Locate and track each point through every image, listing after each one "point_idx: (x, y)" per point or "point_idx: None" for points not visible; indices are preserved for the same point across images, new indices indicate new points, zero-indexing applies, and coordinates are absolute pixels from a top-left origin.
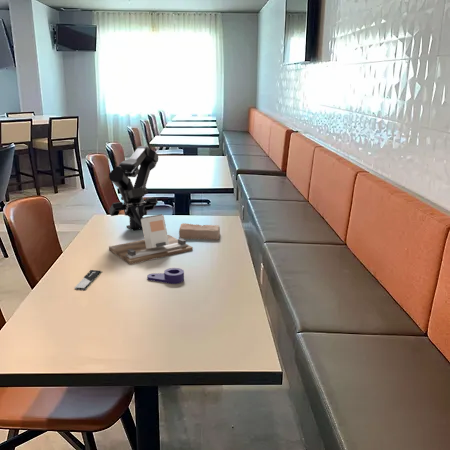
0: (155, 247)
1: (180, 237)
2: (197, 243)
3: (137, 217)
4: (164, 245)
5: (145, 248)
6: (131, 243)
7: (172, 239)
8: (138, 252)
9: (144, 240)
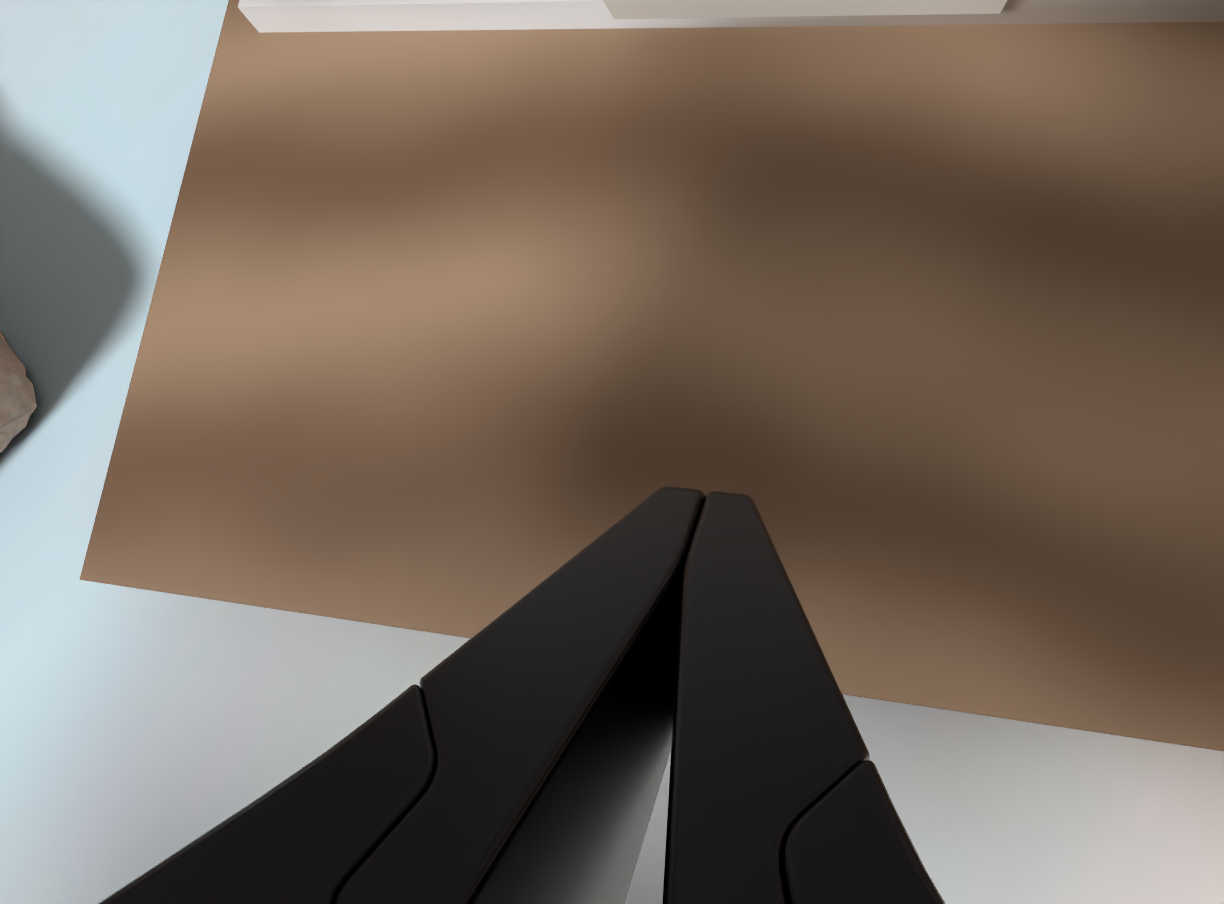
0: (732, 113)
1: (25, 392)
2: (51, 68)
3: (788, 691)
4: (537, 117)
5: (922, 172)
6: (1013, 620)
7: (224, 301)
8: None
9: None
